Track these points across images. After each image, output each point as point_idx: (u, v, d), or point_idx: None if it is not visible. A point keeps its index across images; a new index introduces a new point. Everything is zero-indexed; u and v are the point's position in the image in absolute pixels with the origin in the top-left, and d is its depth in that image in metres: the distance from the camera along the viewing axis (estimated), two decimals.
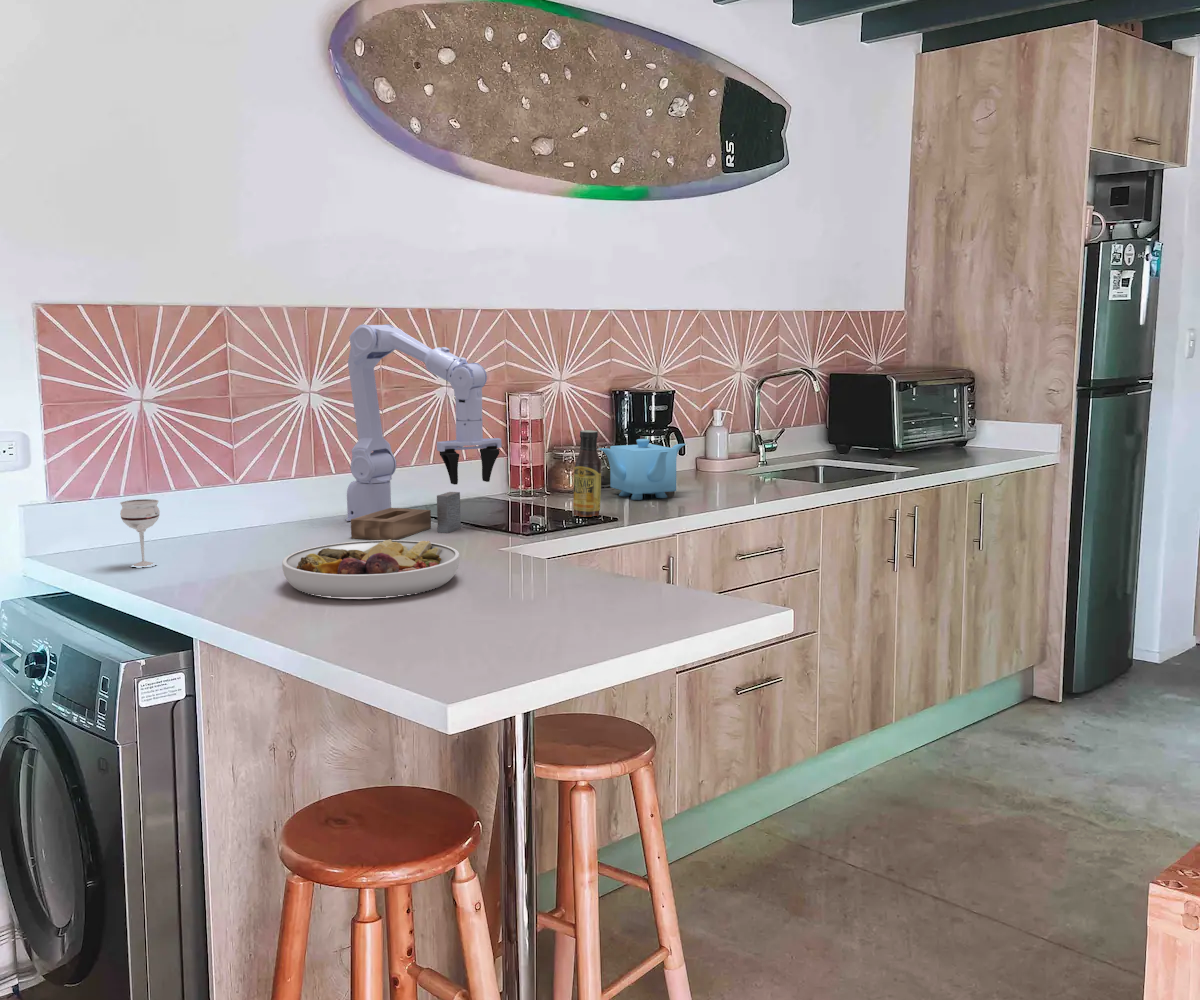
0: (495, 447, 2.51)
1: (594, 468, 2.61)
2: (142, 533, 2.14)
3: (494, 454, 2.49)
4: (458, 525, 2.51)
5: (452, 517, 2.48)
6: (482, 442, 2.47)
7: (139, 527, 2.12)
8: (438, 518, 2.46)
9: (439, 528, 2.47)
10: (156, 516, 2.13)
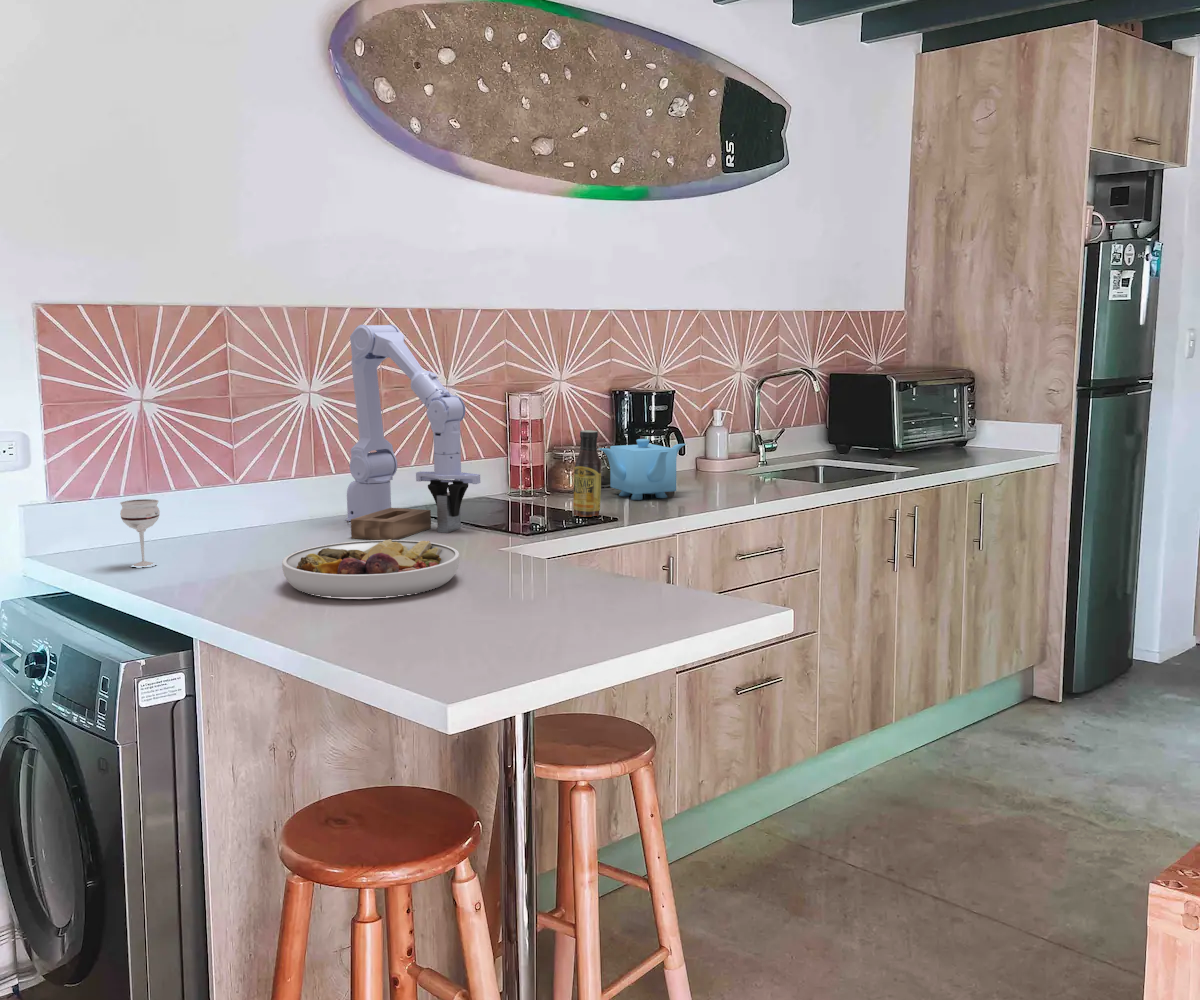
0: (460, 482, 2.46)
1: (594, 468, 2.61)
2: (142, 533, 2.14)
3: (452, 489, 2.45)
4: (458, 524, 2.51)
5: (452, 517, 2.48)
6: (449, 476, 2.44)
7: (139, 527, 2.12)
8: (438, 518, 2.46)
9: (439, 528, 2.47)
10: (156, 516, 2.13)
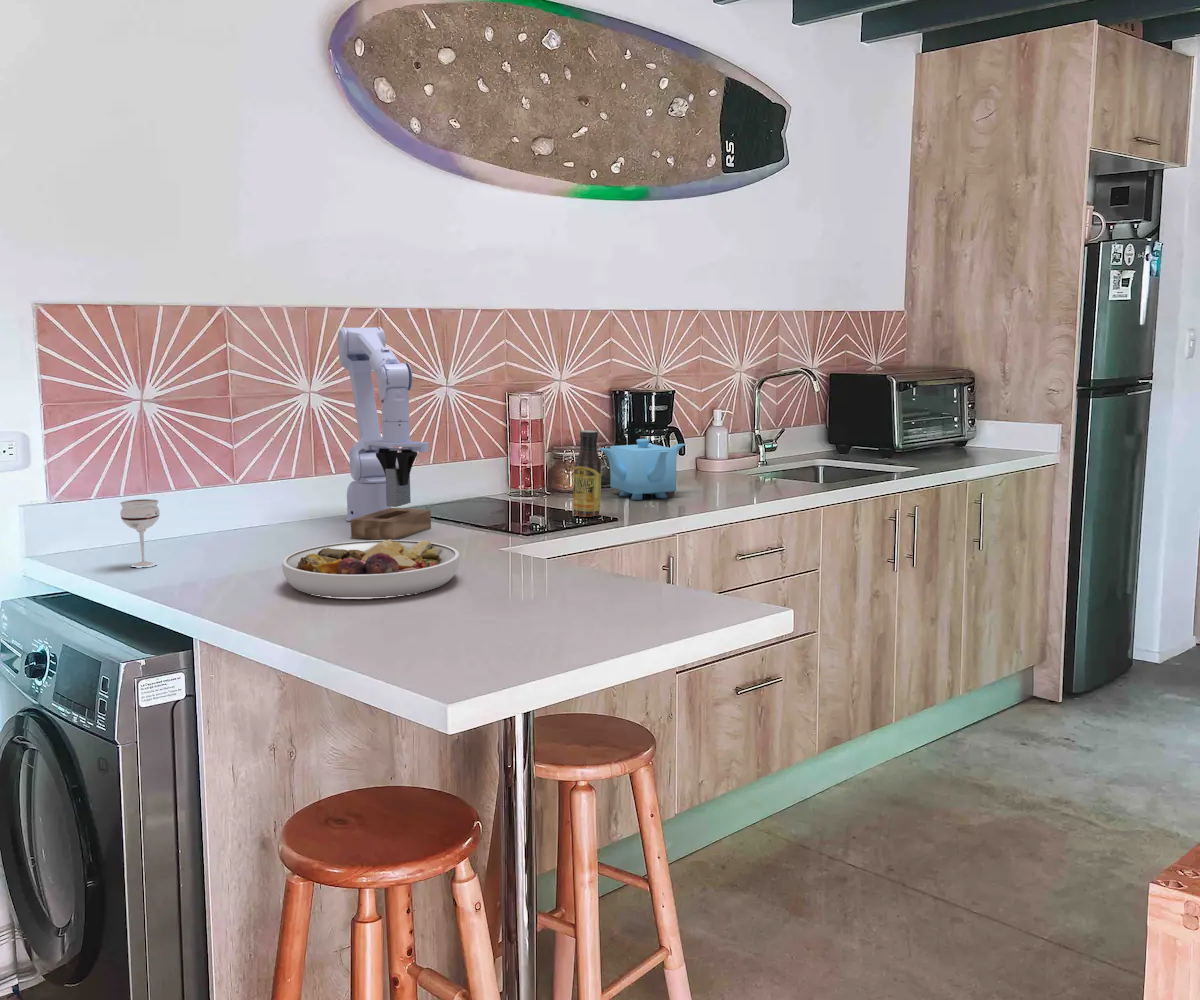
0: (409, 451, 2.42)
1: (594, 468, 2.61)
2: (142, 533, 2.14)
3: (400, 457, 2.41)
4: (408, 499, 2.47)
5: (402, 491, 2.44)
6: (397, 444, 2.41)
7: (139, 527, 2.12)
8: (387, 492, 2.43)
9: (388, 502, 2.43)
10: (156, 516, 2.13)
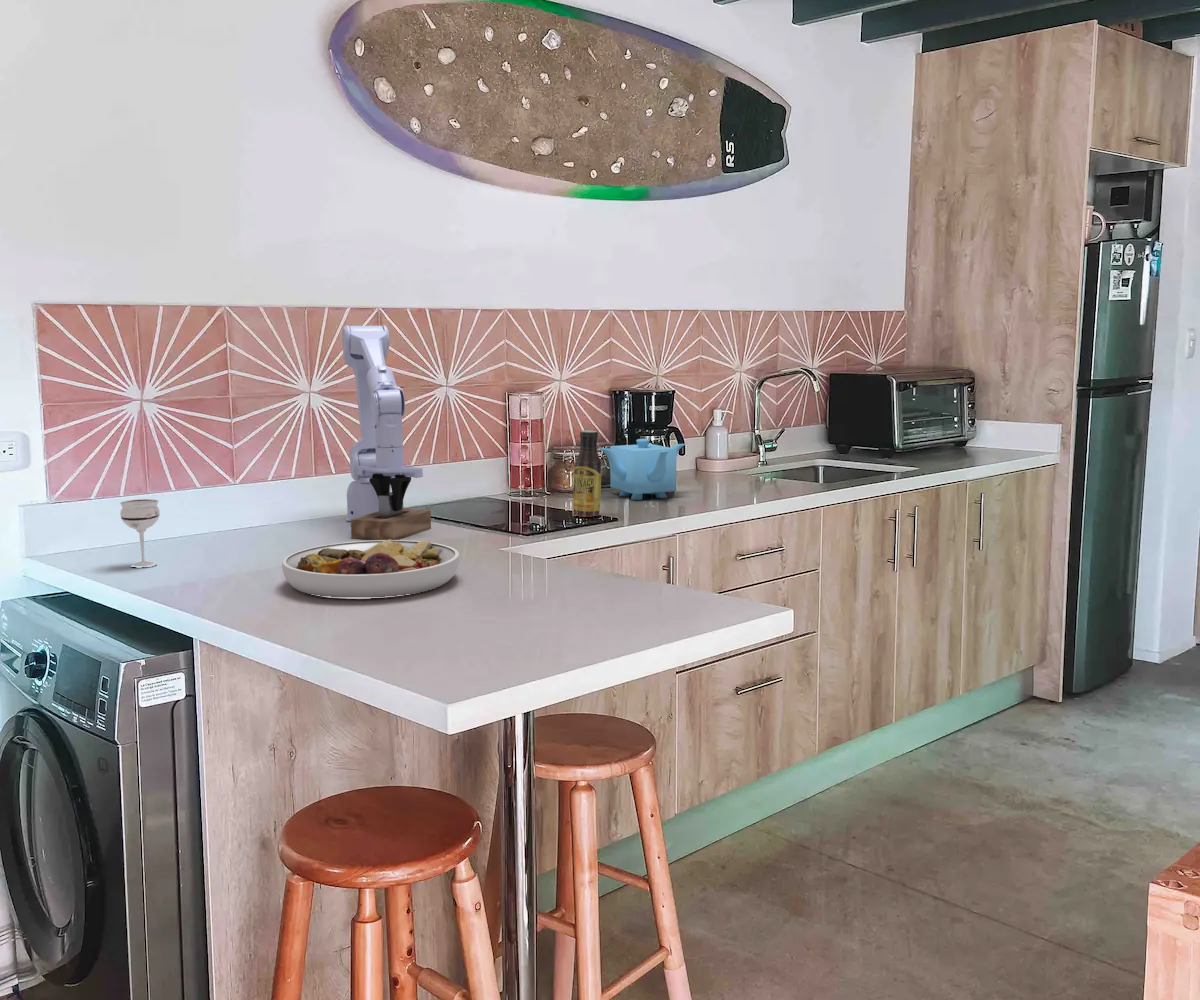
0: (402, 476, 2.42)
1: (594, 468, 2.61)
2: (142, 533, 2.14)
3: (393, 483, 2.41)
4: None
5: None
6: (391, 470, 2.41)
7: (139, 527, 2.12)
8: (380, 518, 2.43)
9: None
10: (156, 516, 2.13)
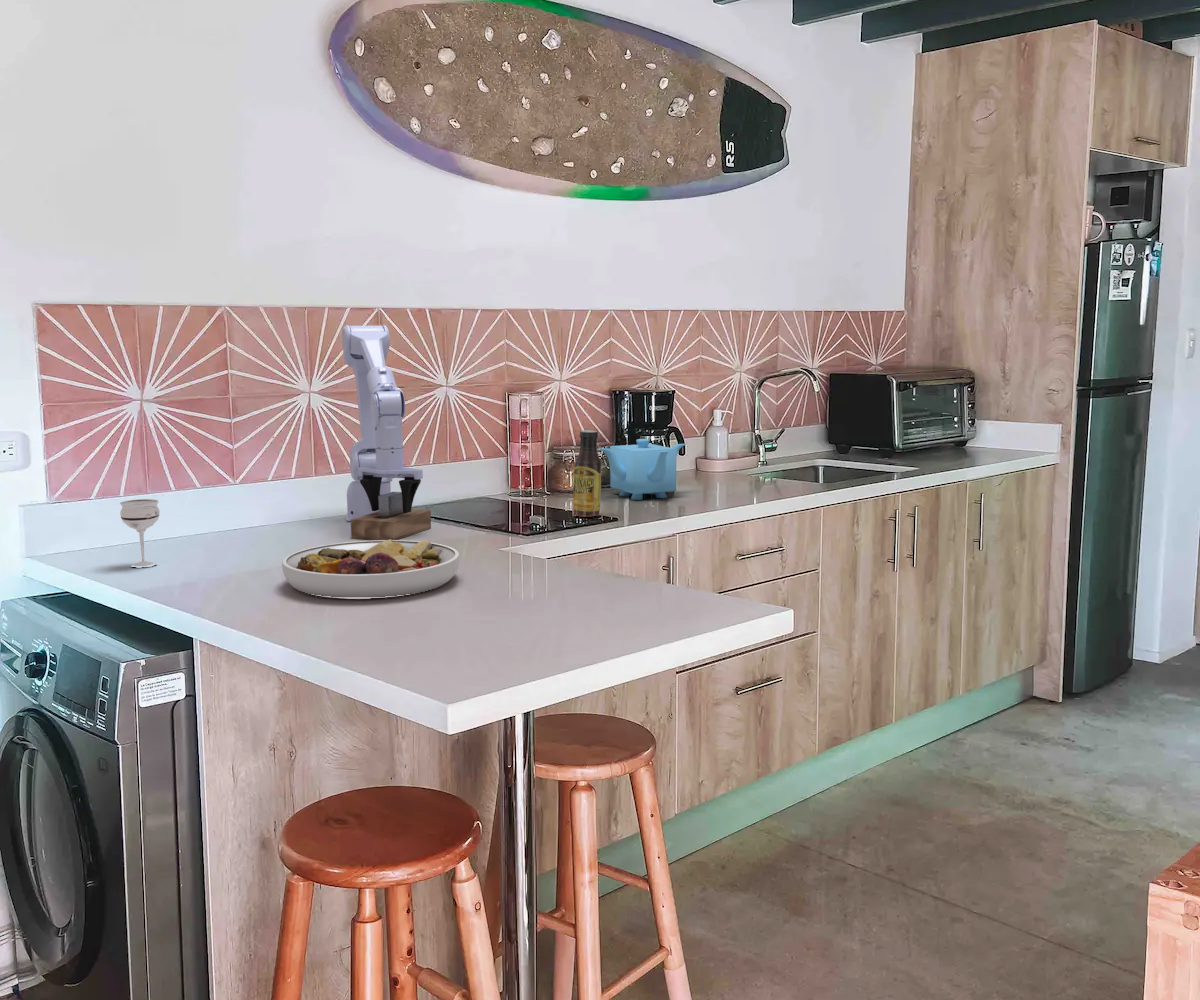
0: (412, 478, 2.42)
1: (594, 468, 2.61)
2: (142, 533, 2.14)
3: (403, 485, 2.41)
4: None
5: None
6: (391, 471, 2.41)
7: (139, 527, 2.12)
8: (380, 518, 2.43)
9: None
10: (156, 516, 2.13)
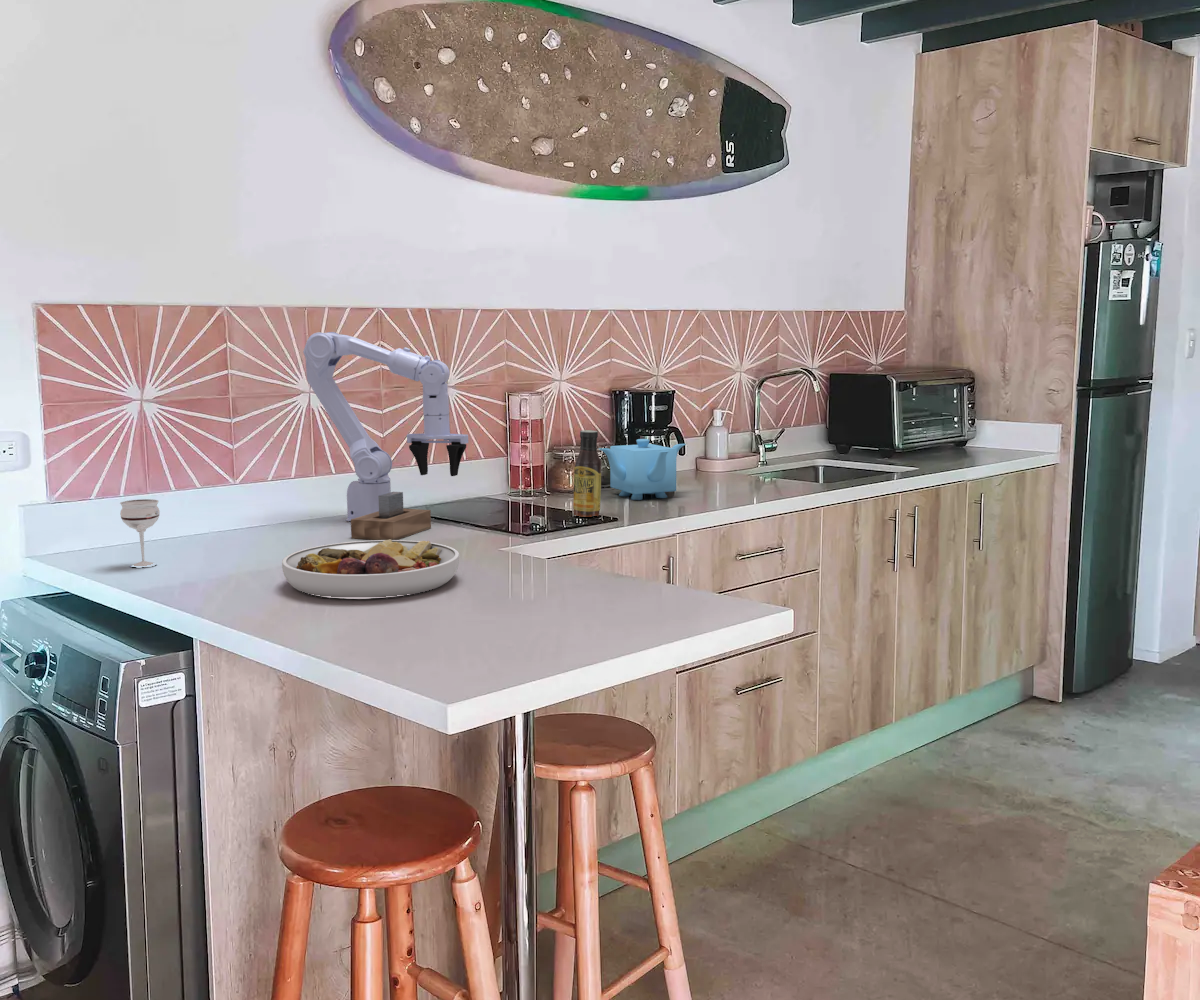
0: (458, 443, 2.56)
1: (594, 468, 2.61)
2: (142, 533, 2.14)
3: (450, 449, 2.55)
4: None
5: None
6: (439, 437, 2.55)
7: (139, 527, 2.12)
8: (380, 518, 2.43)
9: None
10: (156, 516, 2.13)
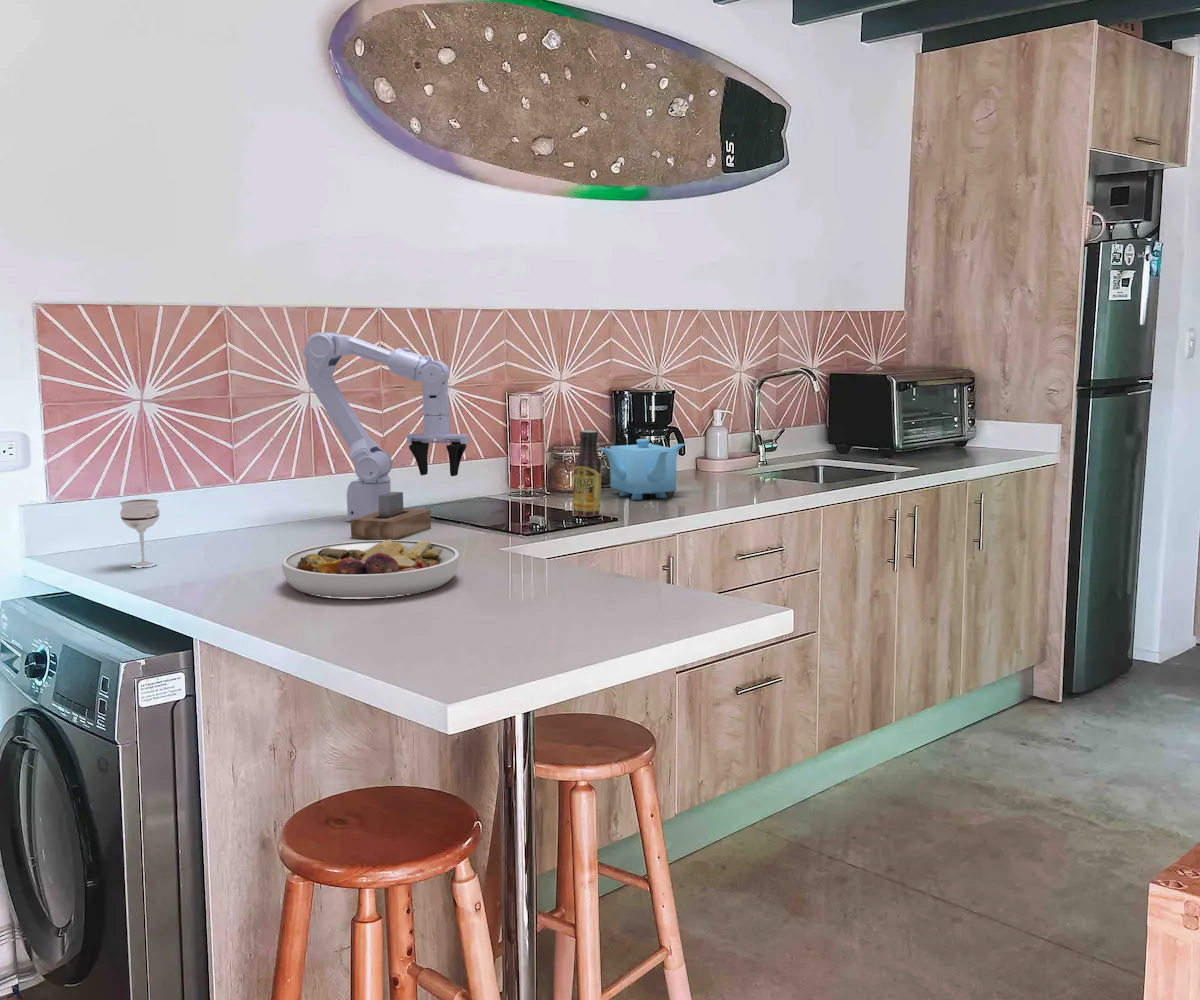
0: (458, 443, 2.56)
1: (594, 468, 2.61)
2: (142, 533, 2.14)
3: (450, 449, 2.55)
4: None
5: None
6: (439, 437, 2.55)
7: (139, 527, 2.12)
8: (380, 518, 2.43)
9: None
10: (156, 516, 2.13)
